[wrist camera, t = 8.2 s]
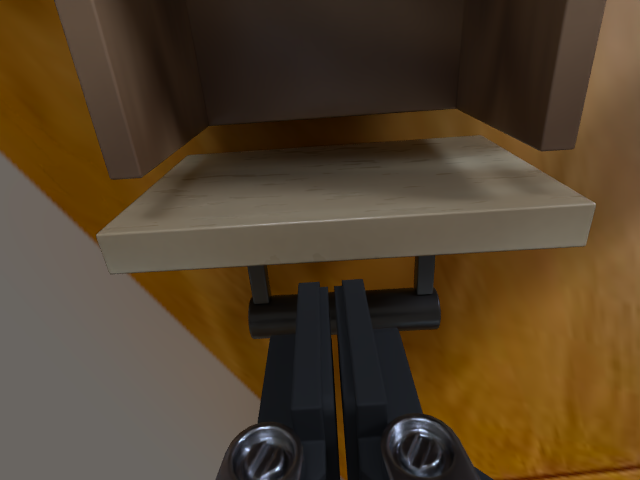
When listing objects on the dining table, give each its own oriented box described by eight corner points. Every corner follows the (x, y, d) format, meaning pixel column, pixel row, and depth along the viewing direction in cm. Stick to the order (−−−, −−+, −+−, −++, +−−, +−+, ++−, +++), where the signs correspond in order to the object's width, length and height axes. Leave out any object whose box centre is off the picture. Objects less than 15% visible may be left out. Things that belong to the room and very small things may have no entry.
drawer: (467, 264, 19) (549, 389, 12) (214, 278, 20) (156, 408, 13) (543, -430, 10) (1017, -1426, 3) (71, -375, 11) (-406, -1167, 4)
